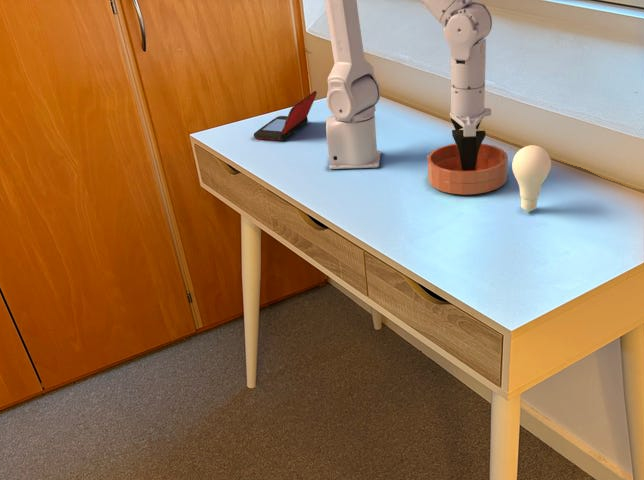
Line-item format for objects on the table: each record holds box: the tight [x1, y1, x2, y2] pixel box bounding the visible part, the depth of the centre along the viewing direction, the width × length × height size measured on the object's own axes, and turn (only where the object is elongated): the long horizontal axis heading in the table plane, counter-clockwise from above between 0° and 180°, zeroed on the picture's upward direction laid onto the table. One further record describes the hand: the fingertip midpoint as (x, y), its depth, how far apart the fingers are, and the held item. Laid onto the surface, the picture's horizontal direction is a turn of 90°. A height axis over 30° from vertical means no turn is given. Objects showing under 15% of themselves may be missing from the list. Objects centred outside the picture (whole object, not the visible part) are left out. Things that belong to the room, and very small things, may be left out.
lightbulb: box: [511, 144, 552, 213], centre depth 116 cm, size 6×6×11 cm
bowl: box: [427, 142, 509, 196], centre depth 130 cm, size 14×14×4 cm
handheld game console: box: [253, 90, 318, 142], centre depth 155 cm, size 12×11×7 cm
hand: (467, 162), depth 129 cm, fingers open, 6 cm apart
